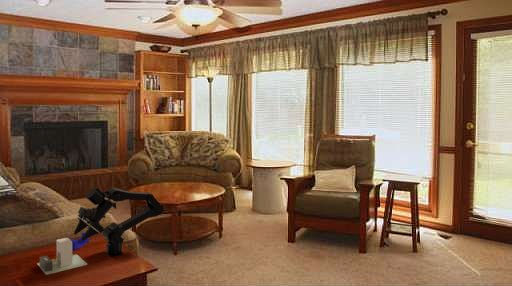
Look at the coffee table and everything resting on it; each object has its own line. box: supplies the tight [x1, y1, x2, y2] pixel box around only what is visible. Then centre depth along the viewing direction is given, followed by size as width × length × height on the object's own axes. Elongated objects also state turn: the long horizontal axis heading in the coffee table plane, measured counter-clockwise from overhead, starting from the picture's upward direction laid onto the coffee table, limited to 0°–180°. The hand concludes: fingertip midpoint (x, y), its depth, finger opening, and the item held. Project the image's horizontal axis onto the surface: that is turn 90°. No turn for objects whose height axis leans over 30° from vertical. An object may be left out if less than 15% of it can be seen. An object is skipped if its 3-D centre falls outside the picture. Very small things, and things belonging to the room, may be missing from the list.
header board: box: [36, 254, 88, 276], centre depth 198 cm, size 18×14×5 cm
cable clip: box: [70, 231, 90, 251], centre depth 219 cm, size 12×4×6 cm, turn 168°
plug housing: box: [56, 237, 73, 267], centre depth 198 cm, size 5×6×11 cm
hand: (78, 236), depth 201 cm, fingers open, 9 cm apart
